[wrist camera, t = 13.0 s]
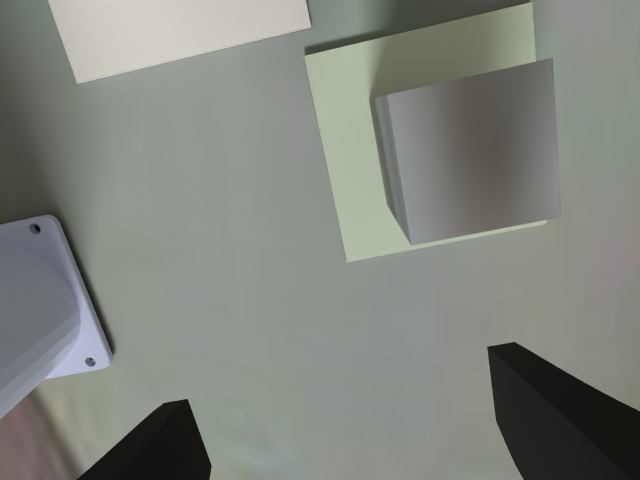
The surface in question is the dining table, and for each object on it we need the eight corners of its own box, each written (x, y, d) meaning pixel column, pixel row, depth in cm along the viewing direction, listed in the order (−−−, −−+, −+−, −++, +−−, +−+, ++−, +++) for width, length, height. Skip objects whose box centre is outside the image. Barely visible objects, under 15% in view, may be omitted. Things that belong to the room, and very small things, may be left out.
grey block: (386, 204, 19) (411, 245, 13) (368, 100, 18) (386, 94, 12) (489, 184, 18) (561, 217, 13) (479, 75, 17) (552, 57, 12)
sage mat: (346, 260, 20) (347, 262, 20) (304, 56, 17) (304, 55, 17) (543, 222, 19) (546, 223, 19) (528, 3, 17) (531, 2, 16)
